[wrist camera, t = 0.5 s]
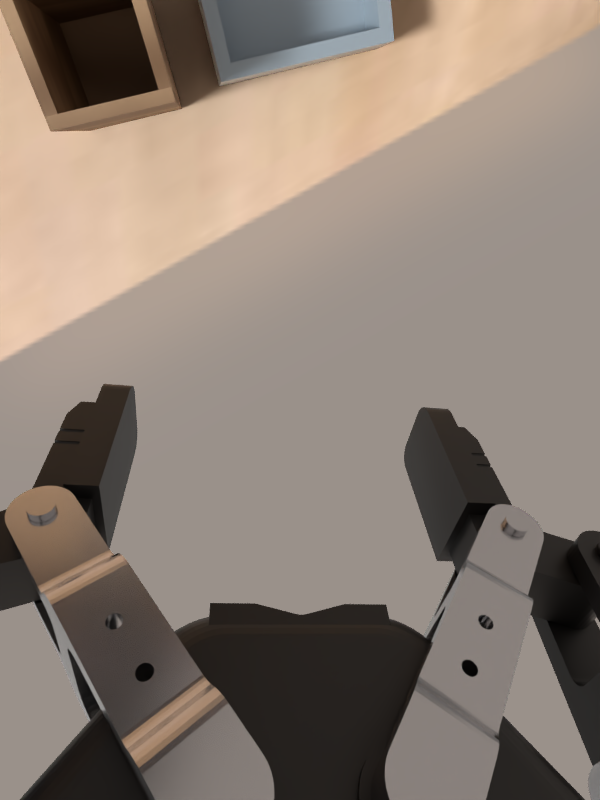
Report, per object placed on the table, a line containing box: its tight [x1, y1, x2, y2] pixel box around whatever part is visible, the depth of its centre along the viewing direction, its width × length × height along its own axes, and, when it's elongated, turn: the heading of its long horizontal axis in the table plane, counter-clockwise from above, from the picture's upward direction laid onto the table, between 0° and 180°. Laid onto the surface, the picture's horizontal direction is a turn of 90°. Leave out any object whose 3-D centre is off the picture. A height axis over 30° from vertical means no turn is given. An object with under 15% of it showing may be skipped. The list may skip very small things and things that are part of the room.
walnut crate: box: [0, 0, 182, 131], centre depth 26 cm, size 6×6×10 cm
